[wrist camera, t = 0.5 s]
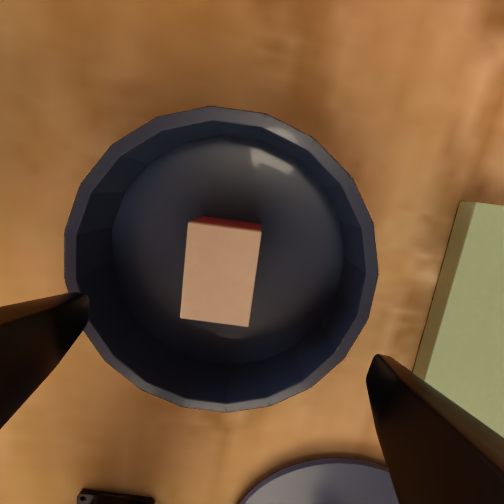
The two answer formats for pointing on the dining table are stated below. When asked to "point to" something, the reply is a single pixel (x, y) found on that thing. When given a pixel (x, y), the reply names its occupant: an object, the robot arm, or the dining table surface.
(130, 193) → the pot
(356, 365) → the dining table surface
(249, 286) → the meat
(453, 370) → the board
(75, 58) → the dining table surface
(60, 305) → the robot arm
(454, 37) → the dining table surface
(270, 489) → the lid
